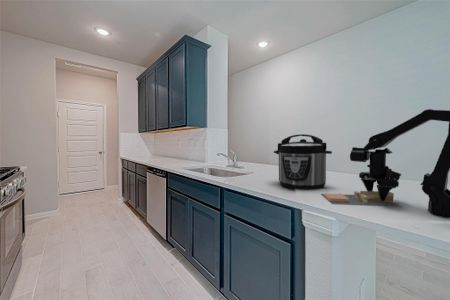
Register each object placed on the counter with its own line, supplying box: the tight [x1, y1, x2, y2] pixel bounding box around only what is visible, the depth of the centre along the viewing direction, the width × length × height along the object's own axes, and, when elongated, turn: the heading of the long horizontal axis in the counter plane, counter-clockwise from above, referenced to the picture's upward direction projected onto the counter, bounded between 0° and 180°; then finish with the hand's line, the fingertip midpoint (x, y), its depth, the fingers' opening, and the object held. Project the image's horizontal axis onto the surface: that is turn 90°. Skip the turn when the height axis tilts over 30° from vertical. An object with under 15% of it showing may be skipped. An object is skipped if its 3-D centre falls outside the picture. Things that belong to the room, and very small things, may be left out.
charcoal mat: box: [320, 193, 403, 208], centre depth 91 cm, size 16×27×1 cm, turn 81°
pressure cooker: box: [273, 134, 333, 190], centre depth 121 cm, size 30×28×32 cm
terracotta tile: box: [323, 192, 349, 203], centre depth 91 cm, size 8×2×8 cm
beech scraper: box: [353, 190, 395, 204], centre depth 89 cm, size 9×13×4 cm
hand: (376, 197), depth 89 cm, fingers open, 9 cm apart
